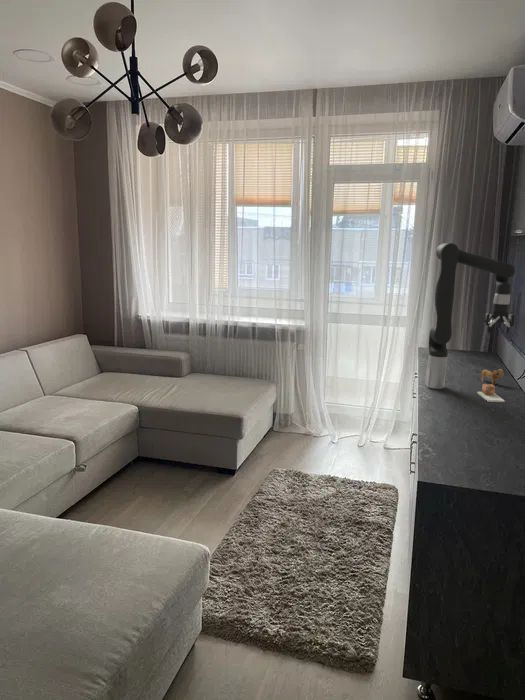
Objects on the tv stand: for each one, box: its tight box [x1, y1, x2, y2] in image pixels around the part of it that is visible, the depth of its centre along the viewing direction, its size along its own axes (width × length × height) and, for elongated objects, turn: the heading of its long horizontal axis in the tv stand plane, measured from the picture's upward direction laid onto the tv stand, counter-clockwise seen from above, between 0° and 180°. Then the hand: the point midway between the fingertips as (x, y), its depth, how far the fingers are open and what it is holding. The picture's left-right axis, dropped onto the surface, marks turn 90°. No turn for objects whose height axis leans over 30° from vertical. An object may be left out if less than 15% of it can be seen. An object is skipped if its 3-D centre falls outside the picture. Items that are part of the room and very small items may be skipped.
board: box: [476, 391, 506, 403], centre depth 253 cm, size 8×14×1 cm, turn 178°
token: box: [481, 383, 496, 395], centre depth 256 cm, size 4×4×4 cm
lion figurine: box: [476, 368, 505, 386], centre depth 279 cm, size 15×5×9 cm, turn 38°
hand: (497, 333), depth 263 cm, fingers open, 8 cm apart
